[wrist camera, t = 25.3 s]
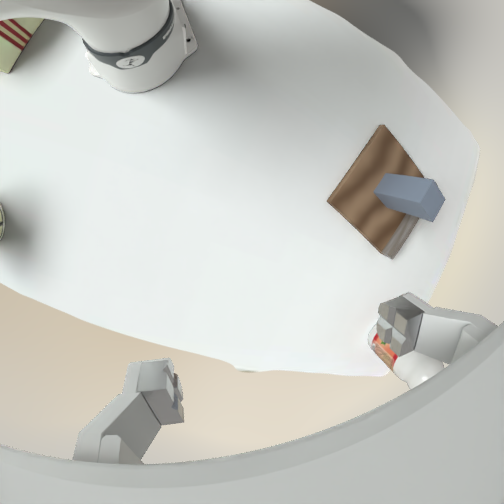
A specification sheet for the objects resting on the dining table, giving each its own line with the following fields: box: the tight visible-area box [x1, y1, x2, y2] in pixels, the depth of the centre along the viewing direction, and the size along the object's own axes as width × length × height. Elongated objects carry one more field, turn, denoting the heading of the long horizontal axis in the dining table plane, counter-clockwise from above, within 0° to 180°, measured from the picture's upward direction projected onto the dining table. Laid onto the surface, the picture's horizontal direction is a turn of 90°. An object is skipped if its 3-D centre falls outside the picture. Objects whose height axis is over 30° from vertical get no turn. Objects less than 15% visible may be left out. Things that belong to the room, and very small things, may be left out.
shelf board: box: [327, 125, 438, 259], centre depth 48 cm, size 18×20×4 cm
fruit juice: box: [368, 324, 444, 390], centre depth 49 cm, size 9×9×28 cm
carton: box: [374, 173, 445, 222], centre depth 42 cm, size 5×5×13 cm
